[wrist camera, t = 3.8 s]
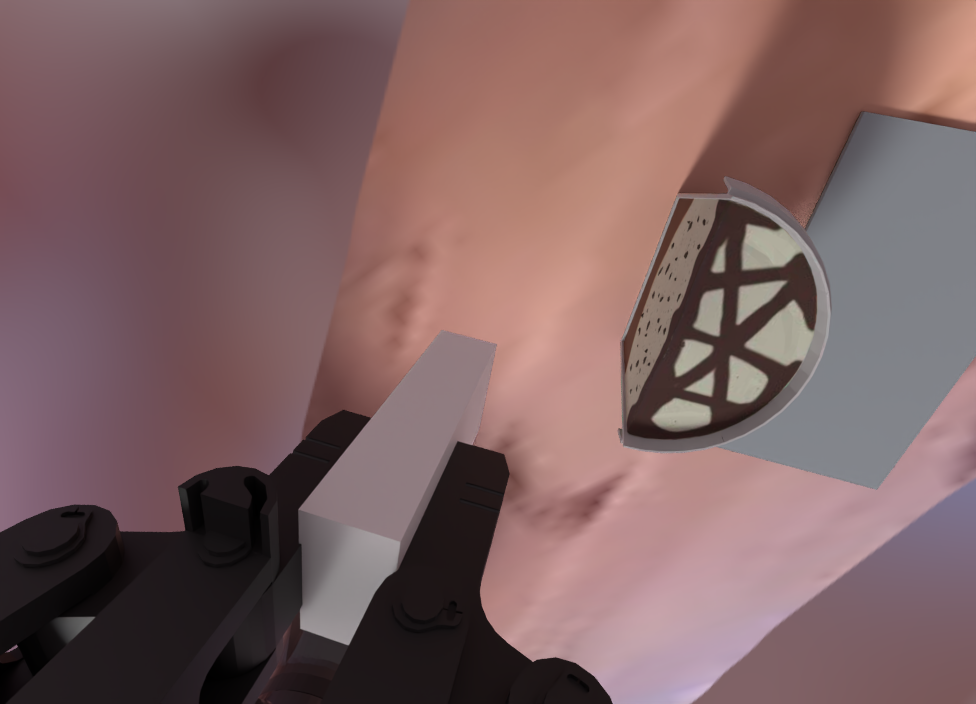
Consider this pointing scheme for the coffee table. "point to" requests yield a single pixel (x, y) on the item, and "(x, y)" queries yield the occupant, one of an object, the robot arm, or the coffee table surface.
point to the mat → (885, 301)
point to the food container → (722, 323)
